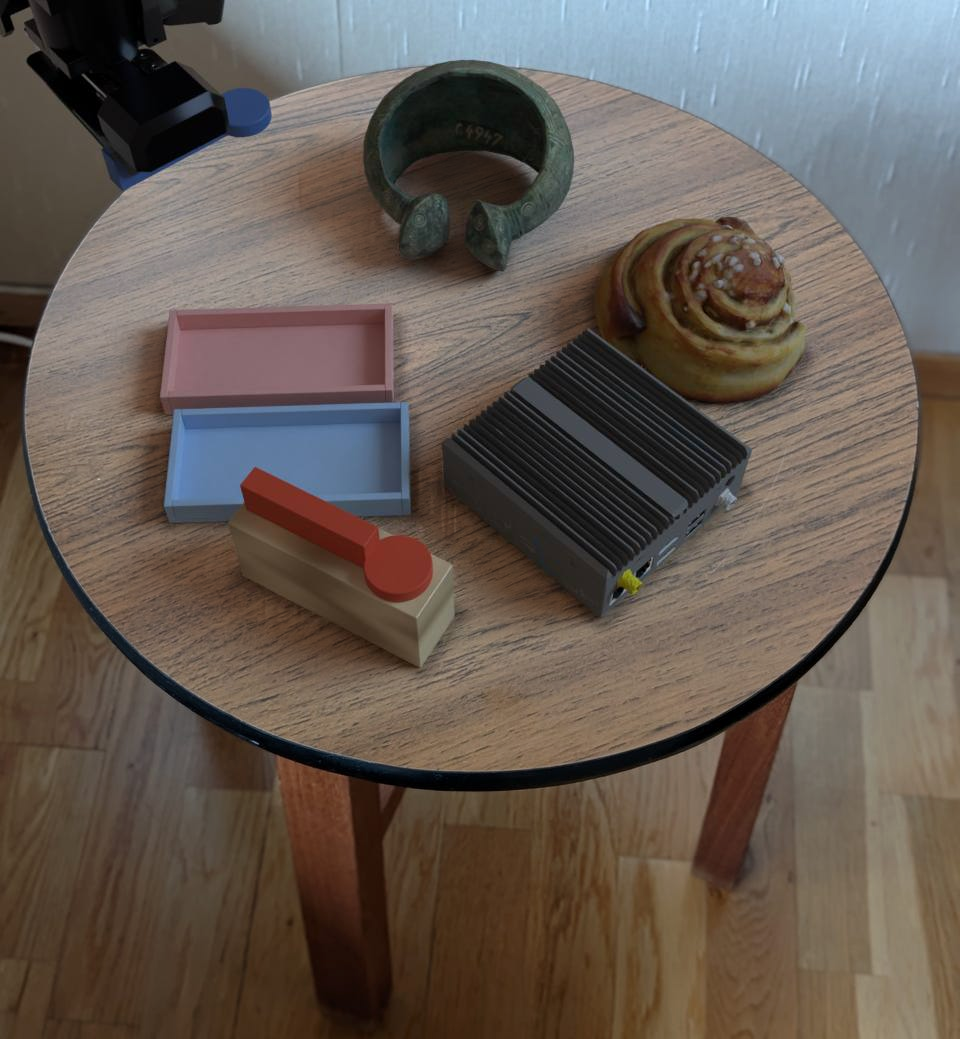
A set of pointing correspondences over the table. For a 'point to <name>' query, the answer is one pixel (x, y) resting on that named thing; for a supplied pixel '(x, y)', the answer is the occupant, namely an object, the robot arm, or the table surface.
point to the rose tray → (278, 357)
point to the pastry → (702, 309)
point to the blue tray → (290, 457)
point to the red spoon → (343, 536)
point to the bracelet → (467, 127)
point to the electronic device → (594, 470)
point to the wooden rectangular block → (343, 588)
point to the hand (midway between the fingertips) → (129, 164)
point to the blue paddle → (245, 120)
